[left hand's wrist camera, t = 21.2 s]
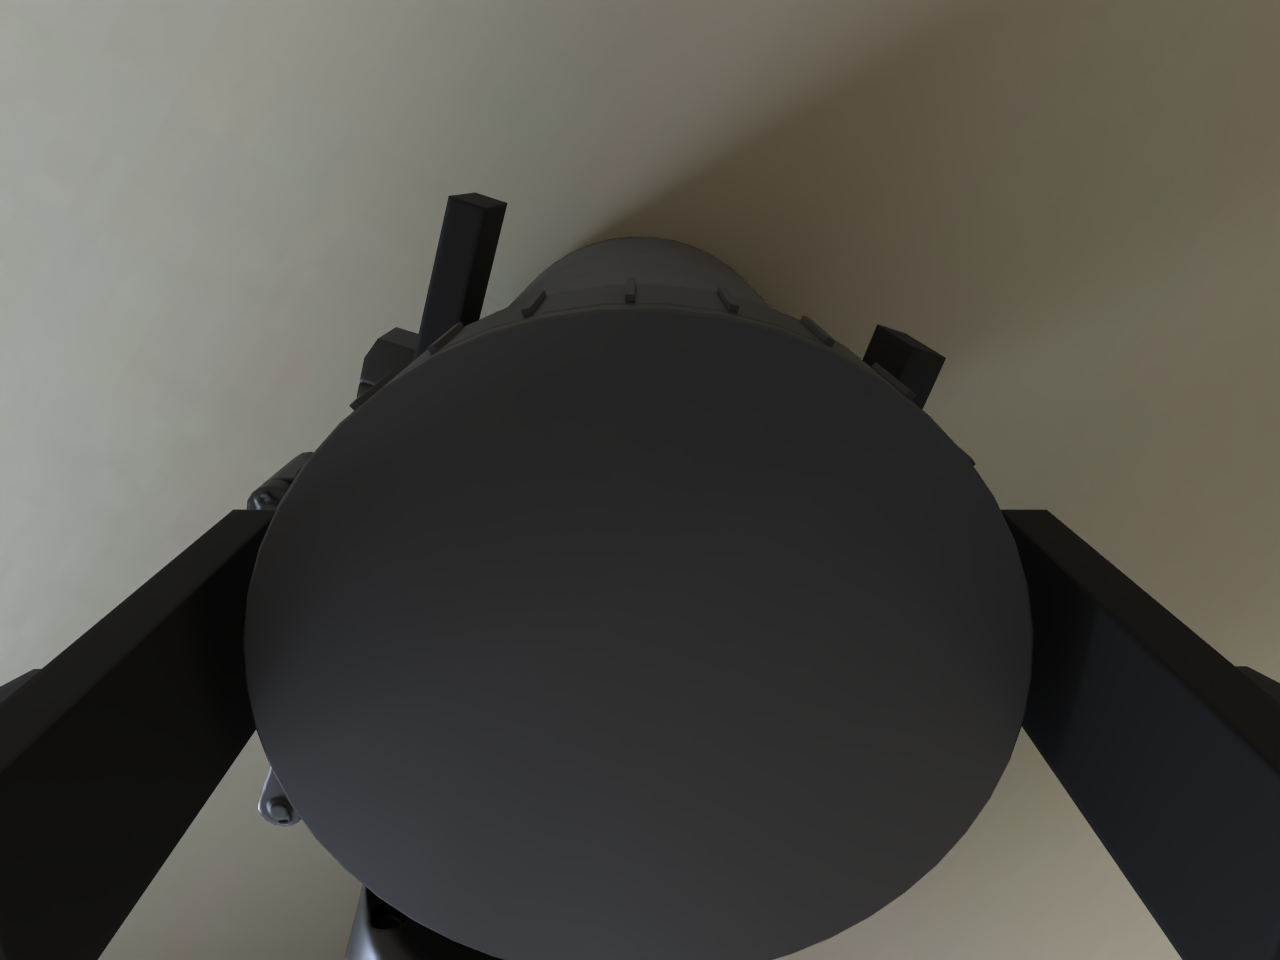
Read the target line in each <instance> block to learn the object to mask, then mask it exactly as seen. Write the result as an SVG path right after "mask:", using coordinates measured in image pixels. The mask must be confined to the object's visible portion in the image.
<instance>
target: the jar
mask: <svg viewBox="0 0 1280 960" xmlns="http://www.w3.org/2000/svg"><path fill="white" fill-rule="evenodd" d="M627 278H635V284H662V285H670V286H678V287H687V288H695V289H703V290H710V291H714V292H717V290H718V286H721V287H725V288H727V290H728V291H729V292H730V294H731V295H732V296H733V297H737V298H741V299H745V300H748V301H752V302H756V303H759V304H762V305H764V306H766V307H769V308H771V307H770V306H769V305H768V304H767V303H766V302H765V301H764V300H763V299H762V298H761V296H760V295H759V294H758V293H757V292H756V291H755V290H754V289H753V288H752V287H751V286H750V285H749V284H748V283H747V282H746V281H745V280H744V279H743V278H742V277H741V276H740V275H738V274H737V273H736V272H735V271H734V270H733V269H731V268H730V267H729V266H728V265H726V264H725V263H723V262H721V261H720V260H718V259H717V258H715V257H714V256H712V255H710V254H708V253H706V252H704V251H702V250H699V249H697V248H695V247H693V246H690V245H686V244H683V243H680V242H676V241H673V240H667V239H661V238H654V237H626V238H618V239H611V240H607V241H603V242H599V243H595V244H591V245H589V246H587V247H584V248H582V249H579V250H577V251H574V252H572V253H571V254H569V255H567V256H565V257H564V258H562V259H560V260H558V261H557V262H555V263H554V264H553V265H551V266H550V267H549V268H547V269H546V270H545V271H544V272H542V273H541V274H540V275H539V276H538V277H537V278H536V279H535V280H534V281H533V282H532V283H531V284H530V285H529V286H528V287H527V288H526V289H525V290H524V291H523V292H522V293H521V294H520V295H519V296H518V297H517V298H516V299H515V300H514V302H513V303H512V304H511V305H510V306H512V305H516V304H519V303H523V302H526V301H529V300H530V299H531V298H532V297H533V295H534V294H535V293H536V292H537V291H540V290H545V293H546V296H547V295H550V294H554V293H557V292H563V291H570V290H576V289H583V288H590V287H597V286H604V285H626V282H627ZM510 306H509V307H510ZM771 309H772V308H771Z"/></svg>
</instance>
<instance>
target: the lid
mask: <svg viewBox="0 0 1280 960" xmlns="http://www.w3.org/2000/svg"><path fill="white" fill-rule="evenodd" d="M915 396H916V395H915V394H914V393H913V392H912V391H911V390H910V389H908V388H907V387H906V386H905V385H903V384H902V383H901V382H900V381H898V380H897V379H896V378H895V377H894V376H892V375H891V374H890V373H889V372H887V371H886V370H885V369H884V368H882V367H881V366H880V365H879V364H877V363H876V362H875V363H874V364H873V365H872V367H870V366H869V365H868V364H866V363H865V362H864V361H863V360H861V359H860V358H859V357H858V356H856V355H855V354H854V353H853V352H851V351H850V350H849V349H848V348H846V347H845V346H844V345H842V344H840V343H838V342H837V341H835V340H834V339H833V338H832V337H831V336H830V335H829V334H827V333H826V332H825V331H824V330H823V329H822V328H820V327H819V326H818V325H817V324H816V323H815V322H814V321H812V320H811V319H810V318H808V317H806V316H804V315H803V317H802V319H801V320H798V319H795V318H793V317H791V316H788V315H786V314H783V313H781V312H778V311H776V310H774V309H771V308H769V307H766V306H764V305H762V304H759V303H756V302H752V301H748V300H745V299H741V298H737V297H733V296H732V295H731V294H730V292H729V291H728V290H727V288H725V287H721V286H718V290H717V292H714V291H710V290H703V289H695V288H687V287H678V286H670V285H662V284H635V278H627V282H626V285H604V286H597V287H590V288H583V289H576V290H570V291H563V292H557V293H554V294H550V295H547V296H546V293H545V290H540V291H537V292H536V293H535V294H534V295H533V297H532V298H531V299H530V300H529V301H526V302H523V303H519V304H516V305H512V306H510V307H507V308H505V309H503V310H501V311H498V312H496V313H494V314H492V315H489V316H487V317H485V318H483V319H480V320H478V321H476V322H473V323H471V324H469V325H467V326H465V327H464V326H463V324H462V322H459V323H457V324H456V325H454V326H453V327H452V328H451V329H449V330H448V331H447V332H446V333H445V334H443V335H442V336H441V337H440V338H438V339H437V340H436V341H435V342H434V343H432V344H431V345H430V346H429V347H428V348H427V350H426V351H425V352H424V353H423V354H422V355H420V356H419V357H418V358H417V359H416V360H414V361H413V362H412V363H411V364H410V365H408V366H407V367H406V368H405V369H404V370H402V371H401V372H400V373H399V374H398V375H395V374H394V373H393V372H392V371H391V372H390V373H388V374H387V375H386V376H385V377H383V378H382V379H381V380H380V381H378V382H377V383H376V384H375V385H373V386H372V387H371V388H370V389H368V390H367V391H366V392H365V393H363V394H362V395H361V396H360V397H359V398H357V399H356V400H355V401H354V402H353V403H352V404H351V405H350V407H351V408H352V409H353V410H354V412H352V413H351V414H350V415H349V416H348V417H346V418H345V419H344V420H343V421H342V422H341V423H340V424H339V425H338V426H337V427H336V428H335V429H334V430H333V432H332V433H331V434H330V435H329V436H328V437H327V438H326V439H325V441H324V442H323V443H322V444H321V445H320V446H319V447H318V449H317V450H316V451H315V452H314V453H313V454H312V455H311V457H310V458H309V459H308V460H307V461H306V462H305V464H304V465H303V466H302V467H300V468H299V469H298V470H297V472H296V473H295V475H294V477H296V478H295V479H294V481H293V483H292V484H291V486H290V487H289V489H288V490H287V492H286V494H285V495H284V497H283V498H282V500H281V501H280V503H279V504H278V507H277V509H276V511H275V514H274V516H273V518H272V520H271V523H270V525H269V527H268V530H267V532H266V534H265V537H264V539H263V541H262V543H261V546H260V548H259V551H258V555H257V559H256V563H255V567H254V571H253V575H252V579H251V582H250V586H249V590H248V594H247V605H246V616H245V626H244V637H243V645H244V660H245V676H246V687H247V691H248V696H249V700H250V705H251V709H252V714H253V718H254V723H255V727H256V730H257V733H258V735H259V738H260V740H261V743H262V746H263V748H264V751H265V754H266V756H267V759H268V761H269V764H270V767H271V769H272V771H273V772H274V774H275V776H276V778H277V780H278V781H279V783H280V785H281V787H282V789H283V791H284V792H285V794H286V796H287V798H288V800H289V801H290V803H291V805H292V806H293V808H294V809H295V810H296V812H297V813H298V814H299V816H300V817H301V819H302V820H303V821H304V823H305V824H306V825H307V827H308V828H309V829H310V831H311V832H312V833H313V835H314V836H315V838H316V839H317V840H318V841H319V842H320V843H321V844H322V845H323V846H324V847H325V848H326V849H327V851H328V852H329V853H330V854H331V855H332V856H333V857H334V858H335V859H336V860H337V861H338V862H339V863H340V864H341V865H342V866H343V867H344V868H345V869H346V870H347V871H348V872H349V873H350V874H351V875H353V876H354V877H355V878H356V879H357V880H359V881H360V882H361V883H362V884H363V885H365V886H366V887H367V888H368V889H369V890H371V891H372V892H373V893H374V894H375V895H377V896H378V897H379V898H381V899H382V900H384V901H385V902H387V903H388V904H390V905H391V906H393V907H394V908H396V909H397V910H399V911H400V912H402V913H403V914H405V915H406V916H408V917H410V918H411V919H413V920H414V921H416V922H418V923H420V924H422V925H424V926H426V927H428V928H429V929H431V930H433V931H435V932H437V933H439V934H441V935H443V936H445V937H447V938H449V939H451V940H453V941H455V942H458V943H460V944H463V945H465V946H468V947H471V948H473V949H476V950H478V951H481V952H483V953H486V954H488V955H491V956H494V957H497V958H501V959H504V960H773V959H776V958H779V957H783V956H786V955H789V954H792V953H795V952H797V951H800V950H802V949H805V948H807V947H809V946H812V945H814V944H817V943H819V942H821V941H824V940H826V939H829V938H831V937H833V936H835V935H837V934H839V933H840V932H842V931H844V930H846V929H848V928H850V927H852V926H853V925H855V924H857V923H859V922H861V921H863V920H865V919H866V918H868V917H870V916H871V915H873V914H874V913H876V912H877V911H879V910H880V909H882V908H883V907H885V906H886V905H887V904H889V903H890V902H892V901H893V900H895V899H896V898H898V897H899V896H901V895H902V894H903V893H905V892H906V891H907V890H908V889H909V888H911V887H912V886H913V885H914V884H915V883H916V882H917V881H919V880H920V879H921V878H922V877H923V876H924V875H926V874H927V873H928V872H929V871H930V870H931V869H932V868H934V867H935V866H936V865H937V864H938V863H939V862H940V861H941V860H942V858H943V857H944V856H945V855H946V854H947V853H948V852H949V851H950V850H951V849H952V847H953V846H954V845H955V844H956V843H957V842H958V841H959V840H960V839H961V838H962V836H963V835H964V834H965V833H966V832H967V830H968V829H969V827H970V826H971V825H972V823H973V822H974V820H975V819H976V817H977V816H978V815H979V813H980V812H981V810H982V809H983V807H984V806H985V805H986V803H987V802H988V800H989V799H990V797H991V795H992V793H993V791H994V789H995V788H996V786H997V784H998V782H999V780H1000V778H1001V776H1002V774H1003V772H1004V770H1005V768H1006V766H1007V764H1008V762H1009V760H1010V758H1011V755H1012V752H1013V749H1014V746H1015V743H1016V741H1017V738H1018V735H1019V732H1020V729H1021V726H1022V723H1023V721H1024V716H1025V711H1026V706H1027V700H1028V695H1029V690H1030V685H1031V679H1032V662H1033V634H1034V632H1033V623H1032V615H1031V607H1030V599H1029V591H1028V585H1027V581H1026V578H1025V574H1024V571H1023V567H1022V564H1021V560H1020V557H1019V553H1018V550H1017V546H1016V543H1015V540H1014V538H1013V536H1012V534H1011V532H1010V529H1009V527H1008V525H1007V523H1006V521H1005V519H1004V517H1003V515H1002V512H1001V510H1000V508H999V506H998V504H997V502H996V500H995V498H994V496H993V494H992V493H991V492H990V490H989V489H988V487H987V486H986V484H985V483H984V481H983V480H982V478H981V477H980V475H979V474H978V472H977V471H976V469H975V468H974V465H975V462H974V461H973V459H972V458H971V457H970V456H969V455H967V454H966V453H965V452H964V451H963V450H962V449H960V448H959V447H958V446H957V445H956V444H955V443H954V442H953V441H952V440H951V439H950V438H949V437H948V435H947V434H946V433H945V432H944V431H943V430H942V429H941V428H940V427H939V426H938V425H937V424H936V423H935V421H934V420H933V419H932V418H931V417H930V416H929V415H928V414H926V413H925V412H924V411H923V410H922V409H920V408H919V407H918V406H917V405H916V404H915V403H913V402H912V400H913V399H914V398H915Z"/></svg>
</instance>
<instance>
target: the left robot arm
mask: <svg viewBox="0 0 1280 960" xmlns="http://www.w3.org/2000/svg"><path fill="white" fill-rule="evenodd" d="M275 511H276V510H232V511H231V512H230V513H229V514H228V515H226V516H225V517H224V518H223V519H222V520H220V521H219V522H218V523H217V524H216V525H214V526H213V527H212V528H211V529H210V530H208V531H207V532H206V533H205V534H204V535H202V536H201V537H200V538H199V539H198V540H196V541H195V542H194V543H193V544H192V545H190V546H189V547H188V548H187V549H186V550H184V551H183V552H182V553H181V554H180V555H178V556H177V557H176V558H175V559H174V560H172V561H171V562H170V563H169V564H168V565H166V566H165V567H164V568H163V569H161V570H160V571H159V572H158V573H157V574H155V575H154V576H153V577H152V578H151V579H149V580H148V581H147V582H146V583H145V584H143V585H142V586H141V587H140V588H139V589H137V590H136V591H135V592H134V593H133V594H131V595H130V596H129V597H128V598H127V599H125V600H124V601H123V602H122V603H121V604H119V605H118V606H117V607H116V608H115V609H113V610H112V611H111V612H110V613H109V614H107V615H106V616H105V617H104V618H103V619H101V620H100V621H99V622H98V623H97V624H95V625H94V626H93V627H92V628H91V629H89V630H88V631H87V632H86V633H85V634H83V635H82V636H81V637H80V638H79V639H77V640H76V641H75V642H74V643H73V644H71V645H70V646H69V647H68V648H67V649H65V650H64V651H63V652H62V653H61V654H59V655H58V656H57V657H56V658H55V659H53V660H52V661H51V662H50V663H48V664H47V665H46V666H45V667H44V668H42V669H33V670H31V671H29V672H28V673H26V674H24V675H22V676H20V677H18V678H16V679H14V680H12V681H10V682H8V683H7V684H5V685H3V686H1V687H0V960H98V958H99V957H100V955H101V954H102V952H103V951H104V949H105V948H106V947H107V945H108V944H109V942H110V941H111V939H112V938H113V936H114V935H115V933H116V932H117V931H118V929H119V928H120V926H121V925H122V923H123V922H124V920H125V919H126V918H127V916H128V915H129V913H130V912H131V910H132V909H133V907H134V906H135V904H136V903H137V902H138V900H139V899H140V897H141V896H142V894H143V893H144V891H145V890H146V888H147V887H148V886H149V884H150V883H151V881H152V880H153V878H154V877H155V875H156V874H157V872H158V871H159V870H160V868H161V867H162V865H163V864H164V862H165V861H166V859H167V858H168V856H169V855H170V854H171V852H172V851H173V849H174V848H175V846H176V845H177V843H178V842H179V841H180V839H181V838H182V836H183V835H184V833H185V832H186V830H187V829H188V827H189V826H190V825H191V823H192V822H193V820H194V819H195V817H196V816H197V814H198V813H199V811H200V810H201V809H202V807H203V806H204V804H205V803H206V801H207V800H208V798H209V797H210V795H211V794H212V793H213V791H214V790H215V788H216V787H217V785H218V784H219V782H220V781H221V779H222V778H223V777H224V775H225V774H226V772H227V771H228V769H229V768H230V766H231V765H232V764H233V762H234V761H235V759H236V758H237V756H238V755H239V753H240V752H241V750H242V749H243V748H244V746H245V745H246V743H247V742H248V740H249V739H250V737H251V736H252V734H253V733H254V732H255V730H256V727H255V723H254V718H253V714H252V709H251V705H250V700H249V696H248V691H247V687H246V676H245V660H244V645H243V637H244V626H245V616H246V605H247V594H248V590H249V586H250V582H251V579H252V575H253V571H254V567H255V563H256V559H257V555H258V551H259V548H260V546H261V543H262V541H263V539H264V537H265V534H266V532H267V530H268V527H269V525H270V523H271V520H272V518H273V516H274V514H275ZM1001 512H1002V515H1003V517H1004V519H1005V521H1006V523H1007V525H1008V527H1009V529H1010V532H1011V534H1012V536H1013V538H1014V540H1015V543H1016V546H1017V550H1018V553H1019V557H1020V560H1021V564H1022V567H1023V571H1024V574H1025V578H1026V581H1027V585H1028V591H1029V599H1030V607H1031V615H1032V623H1033V632H1034V634H1033V662H1032V679H1031V685H1030V690H1029V695H1028V700H1027V706H1026V711H1025V716H1024V721H1023V723H1022V727H1023V729H1024V730H1025V732H1026V733H1027V734H1028V736H1029V737H1030V739H1031V740H1032V742H1033V743H1034V745H1035V746H1036V748H1037V749H1038V750H1039V752H1040V753H1041V755H1042V756H1043V758H1044V759H1045V761H1046V762H1047V764H1048V765H1049V766H1050V768H1051V769H1052V771H1053V772H1054V774H1055V775H1056V777H1057V778H1058V779H1059V781H1060V782H1061V784H1062V785H1063V787H1064V788H1065V790H1066V791H1067V793H1068V794H1069V795H1070V797H1071V798H1072V800H1073V801H1074V803H1075V804H1076V806H1077V807H1078V809H1079V810H1080V811H1081V813H1082V814H1083V816H1084V817H1085V819H1086V820H1087V822H1088V823H1089V825H1090V826H1091V827H1092V829H1093V830H1094V832H1095V833H1096V835H1097V836H1098V838H1099V839H1100V841H1101V842H1102V843H1103V845H1104V846H1105V848H1106V849H1107V851H1108V852H1109V854H1110V855H1111V856H1112V858H1113V859H1114V861H1115V862H1116V864H1117V865H1118V867H1119V868H1120V870H1121V871H1122V872H1123V874H1124V875H1125V877H1126V878H1127V880H1128V881H1129V883H1130V884H1131V886H1132V887H1133V888H1134V890H1135V891H1136V893H1137V894H1138V896H1139V897H1140V899H1141V900H1142V902H1143V903H1144V904H1145V906H1146V907H1147V909H1148V910H1149V912H1150V913H1151V915H1152V916H1153V918H1154V919H1155V920H1156V922H1157V923H1158V925H1159V926H1160V928H1161V929H1162V931H1163V932H1164V933H1165V935H1166V936H1167V938H1168V939H1169V941H1170V942H1171V944H1172V945H1173V947H1174V948H1175V949H1176V951H1177V952H1178V954H1179V955H1180V957H1181V958H1182V960H1280V683H1278V682H1276V681H1274V680H1272V679H1270V678H1268V677H1266V676H1265V675H1263V674H1261V673H1259V672H1257V671H1255V670H1253V669H1251V668H1249V667H1247V666H1234V665H1233V664H1231V663H1230V662H1229V661H1228V660H1227V659H1225V658H1224V657H1223V656H1222V655H1221V654H1219V653H1218V652H1217V651H1216V650H1215V649H1213V648H1212V647H1211V646H1210V645H1209V644H1207V643H1206V642H1205V641H1204V640H1203V639H1201V638H1200V637H1199V636H1198V635H1197V634H1195V633H1194V632H1193V631H1192V630H1191V629H1189V628H1188V627H1187V626H1186V625H1185V624H1183V623H1182V622H1181V621H1180V620H1179V619H1177V618H1176V617H1175V616H1174V615H1173V614H1171V613H1170V612H1169V611H1168V610H1167V609H1165V608H1164V607H1163V606H1162V605H1161V604H1159V603H1158V602H1157V601H1156V600H1155V599H1153V598H1152V597H1151V596H1150V595H1149V594H1147V593H1146V592H1145V591H1144V590H1143V589H1141V588H1140V587H1139V586H1138V585H1137V584H1135V583H1134V582H1133V581H1132V580H1131V579H1129V578H1128V577H1127V576H1126V575H1125V574H1123V573H1122V572H1121V571H1120V570H1118V569H1117V568H1116V567H1115V566H1114V565H1112V564H1111V563H1110V562H1109V561H1108V560H1106V559H1105V558H1104V557H1103V556H1102V555H1100V554H1099V553H1098V552H1097V551H1096V550H1094V549H1093V548H1092V547H1091V546H1090V545H1088V544H1087V543H1086V542H1085V541H1084V540H1082V539H1081V538H1080V537H1079V536H1078V535H1076V534H1075V533H1074V532H1073V531H1072V530H1070V529H1069V528H1068V527H1067V526H1066V525H1064V524H1063V523H1062V522H1061V521H1060V520H1058V519H1057V518H1056V517H1055V516H1054V515H1052V514H1051V513H1050V512H1049V511H1048V510H1001Z"/></svg>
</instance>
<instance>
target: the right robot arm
mask: <svg viewBox="0 0 1280 960" xmlns="http://www.w3.org/2000/svg"><path fill="white" fill-rule="evenodd" d="M506 207H507V203H505V202H502V201H499V200H496V199H493V198H490V197H487V196H484V195H481V194H478V193H469V194H461V195H453V196H449V198H448V202H447V207H446V211H445V216H444V221H443V225H442V230H441V234H440V239H439V243H438V248H437V253H436V257H435V262H434V266H433V271H432V276H431V280H430V285H429V289H428V294H427V299H426V303H425V308H424V312H423V317H422V322H421V326H420V331H419V334H417V333H413V332H410V331H407V330H404V329H400V328H397V327H396V328H394V329H393V330H391V331H390V332H388V333H386V334H385V335H383V336H382V337H380V338H379V339H377V341H376V342H375V344H374V345H373V347H372V348H371V349H370V351H369V352H368V354H367V355H366V357H365V358H364V363H363V368H362V373H361V378H360V385H359V388H358V393H357V398H359V397H360V396H361V395H362V394H363V393H365V392H366V391H367V390H368V389H370V388H371V387H372V386H373V385H375V384H376V383H377V382H378V381H380V380H381V379H382V378H383V377H385V376H386V375H387V374H388V373H390V372H391V371H392V372H393V373H394V374H395V375H398V374H399V373H400V372H401V371H402V370H404V369H405V368H406V367H407V366H408V365H410V364H411V363H412V362H413V361H414V360H416V359H417V358H418V357H419V356H420V355H422V354H423V353H424V352H425V351H426V350H427V348H428V347H429V346H430V345H431V344H432V343H434V342H435V341H436V340H437V339H438V338H440V337H441V336H442V335H443V334H445V333H446V332H447V331H448V330H449V329H451V328H452V327H453V326H454V325H456V324H457V323H459V322H462V324H463V326H464V327H465V326H467V325H469V324H471V323H473V322H476V321H478V320H479V318H480V314H481V310H482V305H483V301H484V297H485V293H486V289H487V285H488V281H489V277H490V273H491V268H492V264H493V260H494V256H495V252H496V248H497V244H498V240H499V236H500V231H501V227H502V223H503V219H504V215H505V211H506ZM945 359H946V358H945V357H943V356H942V355H940V354H938V353H937V352H935V351H934V350H932V349H930V348H929V347H927V346H925V345H924V344H922V343H920V342H919V341H917V340H915V339H914V338H912V337H911V336H909V335H907V334H905V333H902V332H899V331H896V330H893V329H890V328H887V327H884V326H881V325H878V324H877V327H876V329H875V331H874V334H873V336H872V339H871V341H870V343H869V346H868V348H867V351H866V353H865V355H864V358H863V361H864V362H865V363H866V364H868V365H869V366H870V367H872V365H873V364H874V363H875V362H876V363H877V364H879V365H880V366H881V367H882V368H884V369H885V370H886V371H887V372H889V373H890V374H891V375H892V376H894V377H895V378H896V379H897V380H898V381H900V382H901V383H902V384H903V385H905V386H906V387H907V388H908V389H910V390H911V391H912V392H913V393H914V394H915V395H916V396H915V398H914V399H913V400H912V402H913V403H915V404H916V405H917V406H918V407H919V408H920V409H923V407H924V405H925V403H926V401H927V398H928V396H929V394H930V392H931V390H932V387H933V385H934V383H935V381H936V379H937V376H938V374H939V372H940V370H941V368H942V366H943V363H944V361H945ZM313 453H314V452H307V453H302V454H300V455H298V456H297V457H295V458H294V459H293V460H291V461H290V462H289V463H288V464H287V465H285V466H284V467H283V468H282V469H280V470H279V471H278V472H277V473H276V474H274V475H273V476H272V477H271V478H270V479H268V480H267V481H266V482H265V483H264V484H262V485H261V486H260V487H259V488H258V489H256V490H255V491H254V492H253V493H252V494H251V496H250V497H249V499H248V502H247V510H276V509H277V507H278V504H279V503H280V501H281V500H282V498H283V497H284V495H285V494H286V492H287V490H288V489H289V487H290V486H291V484H292V483H293V481H294V479H295V478H296V477H294V475H295V473H296V472H297V470H298V469H299V468H300V467H302V466H303V465H304V464H305V462H306V461H307V460H308V459H309V458H310V457H311V455H312V454H313ZM258 809H259V811H260V814H261V815H262V816H263V817H264V818H265V819H266V820H267V821H268V822H270V823H272V824H274V825H279V826H290V825H293V824H295V823H297V822H299V821H300V819H301V817H300V816H299V814H298V813H297V812H296V810H295V809H294V808H293V806H292V805H291V803H290V801H289V800H288V798H287V796H286V794H285V792H284V791H283V789H282V787H281V785H280V783H279V781H278V780H277V778H276V776H275V774H274V772H273V771H272V769H271V767H270V770H269V773H268V776H267V778H266V781H265V784H264V787H263V790H262V793H261V796H260V799H259V802H258ZM345 960H504V959H501V958H497V957H494V956H491V955H488V954H486V953H483V952H481V951H478V950H476V949H473V948H471V947H468V946H465V945H463V944H460V943H458V942H455V941H453V940H451V939H449V938H447V937H445V936H443V935H441V934H439V933H437V932H435V931H433V930H431V929H429V928H428V927H426V926H424V925H422V924H420V923H418V922H416V921H414V920H413V919H411V918H410V917H408V916H406V915H405V914H403V913H402V912H400V911H399V910H397V909H396V908H394V907H393V906H391V905H390V904H388V903H387V902H385V901H384V900H382V899H381V898H379V897H378V896H377V895H375V894H374V893H373V892H372V891H371V890H369V889H368V888H367V887H366V886H365V885H363V887H362V891H361V895H360V898H359V902H358V906H357V910H356V914H355V918H354V922H353V926H352V930H351V934H350V938H349V941H348V945H347V949H346V955H345Z"/></svg>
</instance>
